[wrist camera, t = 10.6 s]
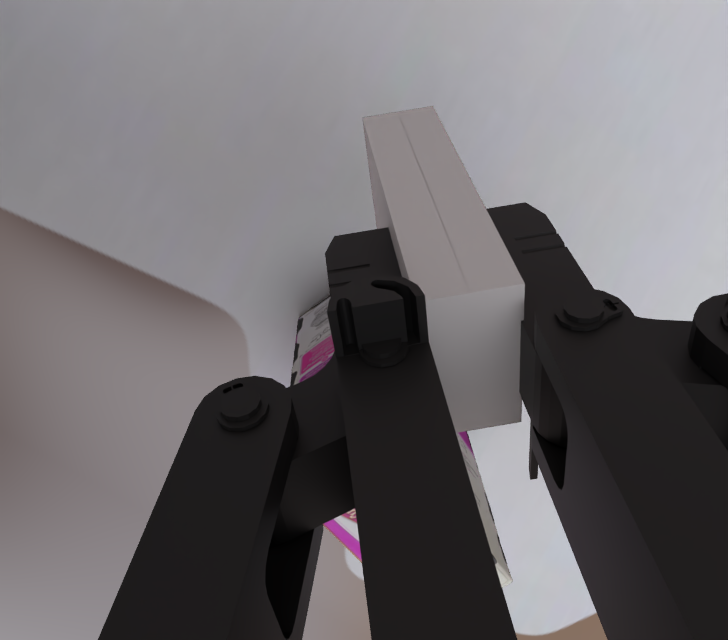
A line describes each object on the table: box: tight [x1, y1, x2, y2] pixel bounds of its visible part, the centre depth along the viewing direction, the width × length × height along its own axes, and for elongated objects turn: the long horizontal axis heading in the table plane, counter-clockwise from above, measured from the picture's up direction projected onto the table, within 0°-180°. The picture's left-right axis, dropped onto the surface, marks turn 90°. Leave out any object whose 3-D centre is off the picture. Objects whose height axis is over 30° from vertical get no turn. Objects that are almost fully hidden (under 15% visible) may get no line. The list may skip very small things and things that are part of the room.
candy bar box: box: [290, 296, 513, 588], centre depth 37 cm, size 11×5×16 cm, turn 38°
